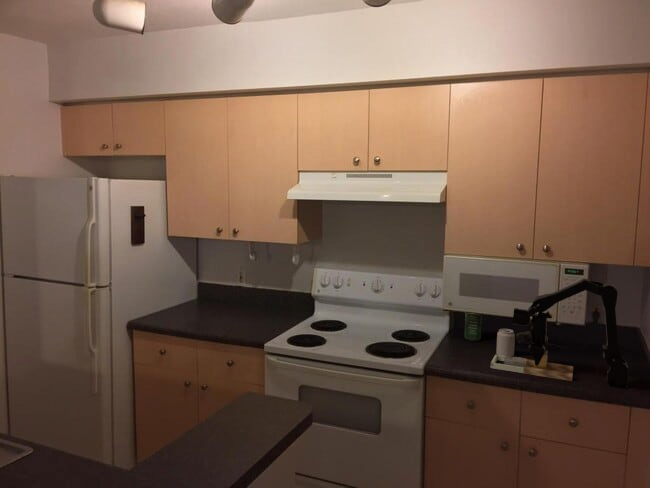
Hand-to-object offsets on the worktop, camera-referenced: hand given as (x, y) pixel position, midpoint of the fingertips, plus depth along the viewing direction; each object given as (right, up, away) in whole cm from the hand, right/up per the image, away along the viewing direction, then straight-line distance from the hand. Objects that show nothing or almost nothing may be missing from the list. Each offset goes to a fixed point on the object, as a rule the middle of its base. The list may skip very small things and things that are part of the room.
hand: (537, 363), depth 217 cm
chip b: (-10, -3, +5) cm, 11 cm away
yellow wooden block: (+1, -2, 0) cm, 3 cm away
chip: (-6, -3, +3) cm, 7 cm away
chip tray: (-10, -3, +5) cm, 12 cm away
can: (-6, -1, +20) cm, 21 cm away
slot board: (+4, -4, -1) cm, 6 cm away
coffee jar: (-14, +2, +45) cm, 47 cm away
